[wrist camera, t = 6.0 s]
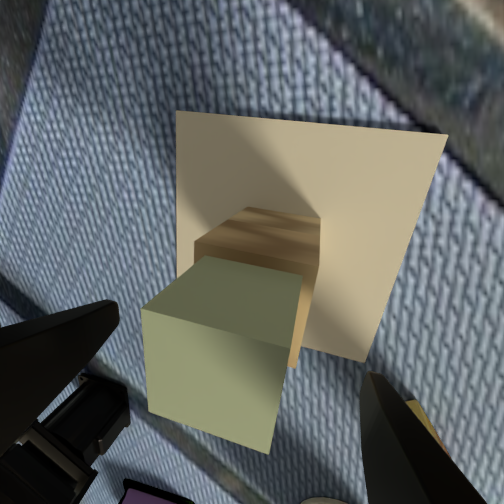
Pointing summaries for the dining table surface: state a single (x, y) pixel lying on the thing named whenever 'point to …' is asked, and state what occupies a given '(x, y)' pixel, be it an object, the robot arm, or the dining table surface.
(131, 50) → the dining table surface
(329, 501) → the bottle
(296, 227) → the tower base block
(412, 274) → the dining table surface
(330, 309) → the felt mat
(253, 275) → the sage cube
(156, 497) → the miniature room corner
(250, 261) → the tower top block
